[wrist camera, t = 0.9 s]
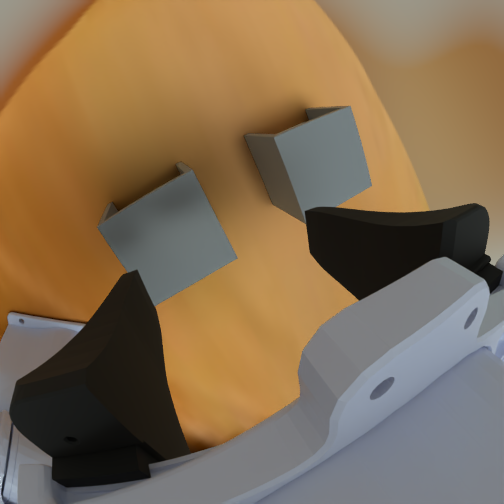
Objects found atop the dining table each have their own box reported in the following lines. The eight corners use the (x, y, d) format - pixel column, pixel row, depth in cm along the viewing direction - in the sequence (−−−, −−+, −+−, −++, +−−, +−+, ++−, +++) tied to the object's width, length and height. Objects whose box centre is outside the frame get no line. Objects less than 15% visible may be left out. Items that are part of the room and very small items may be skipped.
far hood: (331, 173, 23) (371, 185, 19) (272, 204, 22) (306, 224, 18) (309, 108, 20) (350, 105, 16) (243, 135, 19) (273, 137, 15)
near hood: (216, 231, 21) (237, 257, 17) (149, 270, 21) (153, 307, 16) (180, 161, 19) (192, 169, 14) (107, 204, 18) (97, 226, 13)
